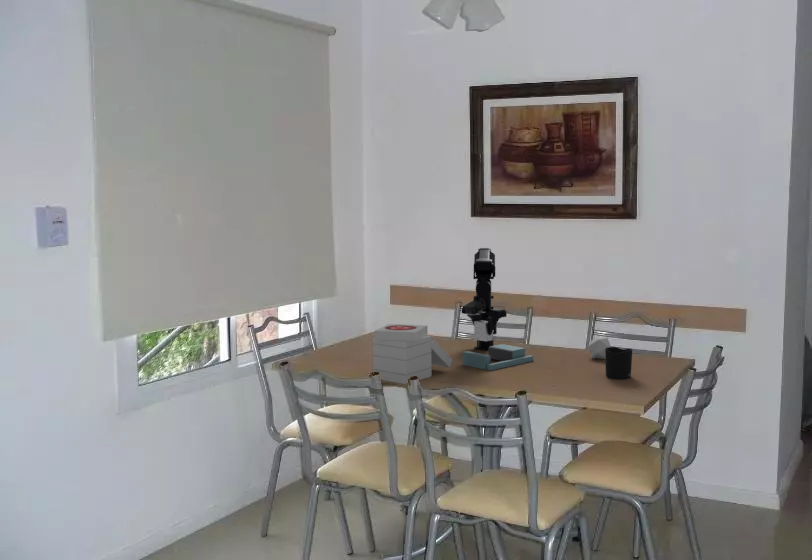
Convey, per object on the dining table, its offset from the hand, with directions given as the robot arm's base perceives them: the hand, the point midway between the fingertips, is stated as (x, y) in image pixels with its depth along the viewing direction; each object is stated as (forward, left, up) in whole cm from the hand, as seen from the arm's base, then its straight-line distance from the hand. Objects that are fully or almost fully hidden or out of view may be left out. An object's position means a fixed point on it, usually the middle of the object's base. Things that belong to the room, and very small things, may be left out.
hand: (483, 333), depth 343 cm
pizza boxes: (-6, -32, -12) cm, 34 cm away
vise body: (+2, +6, -12) cm, 14 cm away
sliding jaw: (+1, +12, -12) cm, 17 cm away
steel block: (0, 0, -2) cm, 2 cm away
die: (+24, +41, -12) cm, 49 cm away
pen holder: (+48, +19, -12) cm, 53 cm away
